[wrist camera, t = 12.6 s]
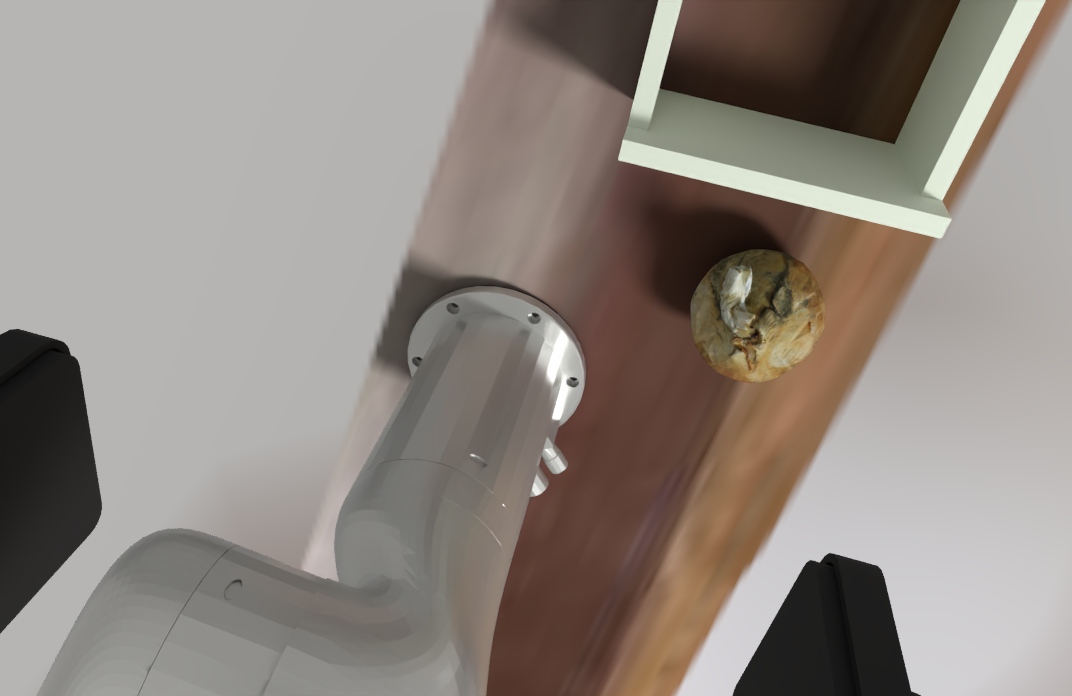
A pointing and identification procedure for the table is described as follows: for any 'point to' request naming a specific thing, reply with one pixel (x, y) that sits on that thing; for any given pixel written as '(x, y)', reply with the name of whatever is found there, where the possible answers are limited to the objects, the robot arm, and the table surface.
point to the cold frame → (829, 155)
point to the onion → (757, 315)
